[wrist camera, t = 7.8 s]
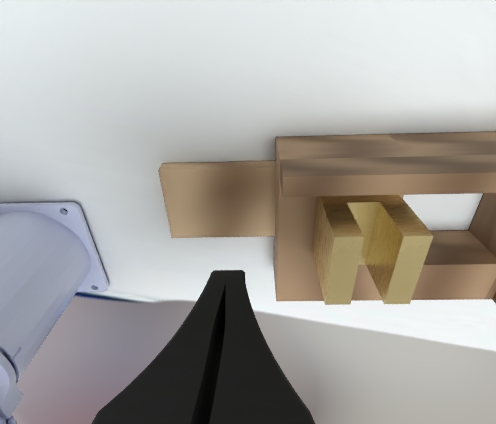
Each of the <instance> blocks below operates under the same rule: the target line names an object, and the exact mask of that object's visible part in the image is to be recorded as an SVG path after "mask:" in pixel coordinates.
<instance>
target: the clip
mask: <svg viewBox="0 0 496 424" xmlns="http://www.w3.org/2000/svg"><path fill="white" fill-rule="evenodd" d="M432 239H433V235H432V233H431V232H430V231H429V230H428V229H427V227H426V226H425V225H424V224H423V223H422V221H421V220H420V219H419V218H418V217H417V215H416V214H415V213H414V212H413V211H412V210H411V208H410V207H409V206H408V205H407V204H406V202H405V201H404V200H403V199H402V198H401V196H400V195H357V196H317V204H316V214H315V224H314V234H313V244H312V255H313V259H314V263H315V267H316V270H317V274H318V278H319V282H320V286H321V290H322V294H323V298H324V302H325V305H330V304H350V303H351V299H352V294H353V289H354V284H355V279H356V274H357V270H358V265H366V266H367V268H368V270H369V272H370V275H371V277H372V279H373V281H374V283H375V285H376V288H377V290H378V292H379V294H380V296H381V298H382V300H383V303H384V304H410V301H411V298H412V296H413V293H414V290H415V287H416V284H417V281H418V279H419V276H420V273H421V270H422V267H423V264H424V261H425V259H426V256H427V253H428V250H429V247H430V244H431V242H432Z"/></svg>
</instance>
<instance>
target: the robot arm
mask: <svg viewBox="0 0 496 424" xmlns="http://www.w3.org/2000/svg"><path fill="white" fill-rule="evenodd" d="M63 208H64V209H66V210H67V211H68V212H66V211H65V210H64V209H63ZM108 287H109V283H108V281H107V278H106V275H105V272H104V270H103V267H102V264H101V262H100V259H99V256H98V253H97V251H96V248H95V245H94V243H93V240H92V237H91V234H90V232H89V229H88V226H87V224H86V221H85V218H84V215H83V213H82V210H81V208H80V206H79V205H78V204H76V203H73V202H56V203H4V204H0V424H17V422H16V420H15V419H14V417H13V416H12V413H13V412H14V410H15V409H16V407H17V405H18V403H19V402H20V400H21V399H22V397H23V395H24V394H23V393H22V392H21V391H20V390H19V389H18V387H17V385H16V383H17V382H18V380H19V379H20V377H21V376H22V374H23V372H24V371H25V370H26V368H27V367H28V365H29V364H30V362H31V361H32V359H33V357H34V356H35V354H36V353H37V351H38V350H39V348H40V347H41V345H42V344H43V342H44V341H45V339H46V337H47V336H48V335H49V333H50V331H51V330H52V328H53V327H54V325H55V324H56V322H57V321H58V319H59V318H60V316H61V315H62V313H63V312H64V310H65V309H66V307H67V306H68V304H69V303H70V301H71V299H72V298H73V296H74V295H75V293H76V292H104V291H106V290H107V289H108ZM92 424H315V423H314V420H313V418H312V415H311V413H310V411H309V410H308V408H307V407H306V406H305V404H304V403H303V402H302V400H301V399H300V397H299V396H298V395H297V393H296V392H295V390H294V389H293V387H292V386H291V384H290V383H289V381H288V380H287V378H286V377H285V375H284V373H283V372H282V370H281V368H280V366H279V365H278V363H277V361H276V360H275V359H274V357H273V354H272V352H271V351H270V349H269V347H268V345H267V343H266V341H265V339H264V337H263V334H262V332H261V330H260V328H259V325H258V323H257V320H256V318H255V315H254V312H253V309H252V306H251V303H250V300H249V297H248V293H247V289H246V284H245V272H244V271H242V270H221V271H213V272H212V273H211V275H210V278H209V280H208V282H207V284H206V286H205V288H204V290H203V292H202V293H201V295H200V297H199V299H198V300H197V302H196V304H195V306H194V307H193V309H192V310H191V312H190V314H189V315H188V317H187V318H186V320H185V321H184V322H183V324H182V325H181V327H180V328H179V330H178V331H177V332H176V334H175V335H174V336H173V338H172V339H171V340H170V341H169V343H168V344H167V345H166V346H165V348H164V349H163V350H162V351H161V352H160V353H159V354H158V355H157V357H156V358H155V359H154V360H153V361H152V362H151V363H150V364H149V365H148V366H147V368H146V369H145V370H143V371H142V373H140V374H139V375H138V377H137V378H135V379H134V380H133V381H132V382H131V384H129V385H128V386H127V387H126V388H125V389H124V390H123V391H122V392H121V393H119V394H118V395H117V396H116V397H115V398H114V399H113V400H111V401H110V402H109V403H108V404H107V405H106V406H104V407H103V408H102V409H101V410H100V411H99V412H98V413H97V415H96V417H95V419H94V420H93V422H92Z"/></svg>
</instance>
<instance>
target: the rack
mask: <svg viewBox="0 0 496 424" xmlns="http://www.w3.org/2000/svg"><path fill="white" fill-rule="evenodd" d="M158 171H159V176H160V181H161V186H162V191H163V196H164V201H165V206H166V211H167V216H168V221H169V226H170V231H171V236H172V238H191V237H255V236H274V277H275V289H276V301H324V298H323V294H322V290H321V286H320V282H319V278H318V274H317V270H316V267H315V263H314V259H313V255H312V244H313V234H314V224H315V214H316V204H317V196H357V195H400V196H401V198H402V199H403V195H409V194H460V193H484V194H483V197H482V199H481V201H480V204H479V206H478V209H477V211H476V213H475V216H474V218H473V220H472V223H471V225H470V228H469V230H464V231H430V232H431V233H432V235H433V239H432V242H431V244H430V247H429V250H428V253H427V256H426V259H425V261H424V264H423V267H422V270H421V273H420V276H419V279H418V281H417V284H416V287H415V290H414V293H413V296H412V298H411V300H451V299H492V300H493V301H494V302H495V303H496V131H494V132H454V133H414V134H374V135H334V136H294V137H276V152H275V161H245V162H201V163H163V164H162V165H161V167H160V168H159V170H158ZM351 300H382V298H381V296H380V294H379V292H378V290H377V288H376V285H375V283H374V281H373V279H372V277H371V275H370V272H369V270H368V268H367V266H366V265H358V270H357V274H356V279H355V284H354V289H353V294H352V299H351Z"/></svg>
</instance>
